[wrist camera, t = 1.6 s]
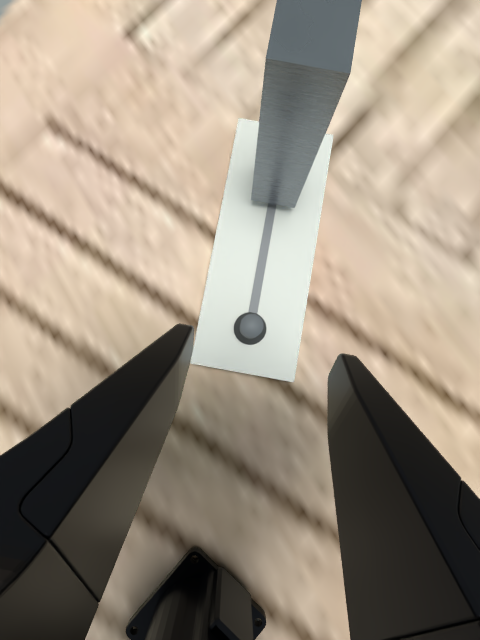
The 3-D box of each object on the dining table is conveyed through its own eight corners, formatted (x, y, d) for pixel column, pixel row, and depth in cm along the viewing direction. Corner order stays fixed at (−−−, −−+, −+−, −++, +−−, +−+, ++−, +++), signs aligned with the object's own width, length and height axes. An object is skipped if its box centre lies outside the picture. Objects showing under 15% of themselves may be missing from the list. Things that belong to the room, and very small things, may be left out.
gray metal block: (292, 212, 21) (350, 73, 11) (250, 204, 21) (265, 58, 11) (299, 172, 22) (361, -1, 11) (257, 164, 22) (279, -16, 11)
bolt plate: (290, 380, 21) (301, 386, 18) (192, 362, 21) (184, 364, 18) (328, 144, 23) (345, 108, 20) (238, 128, 23) (239, 89, 20)
